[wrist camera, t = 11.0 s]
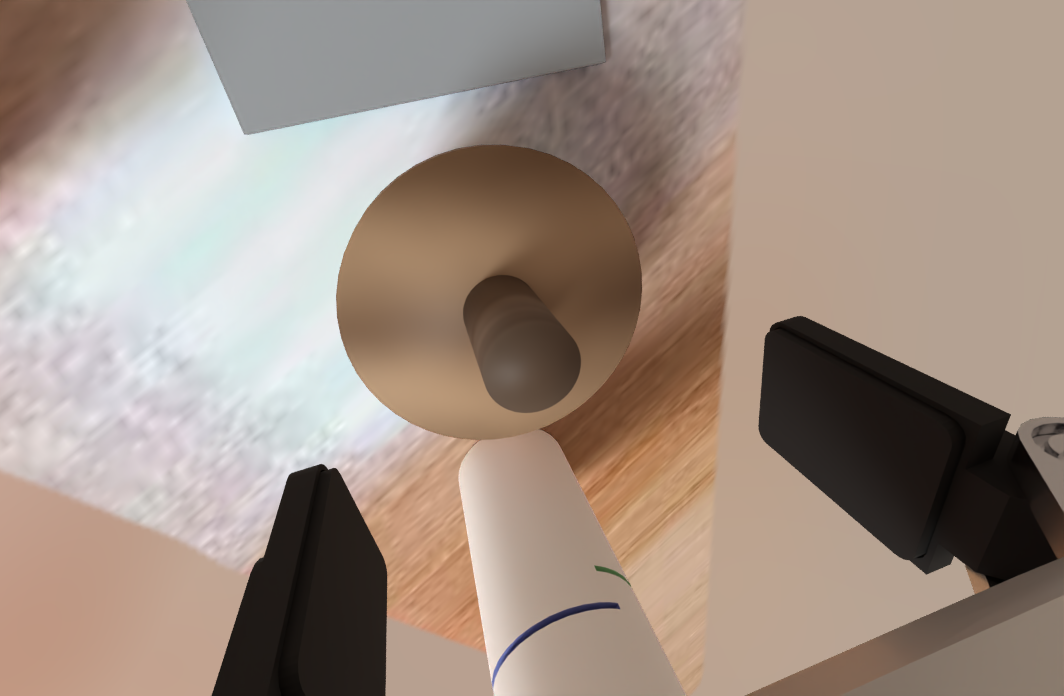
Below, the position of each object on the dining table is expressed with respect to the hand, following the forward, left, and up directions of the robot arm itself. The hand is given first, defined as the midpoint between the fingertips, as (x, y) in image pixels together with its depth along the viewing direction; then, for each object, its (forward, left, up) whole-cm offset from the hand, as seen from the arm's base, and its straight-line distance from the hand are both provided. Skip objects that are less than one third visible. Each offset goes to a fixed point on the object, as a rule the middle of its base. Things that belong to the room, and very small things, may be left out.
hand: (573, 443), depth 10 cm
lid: (0, 0, -10) cm, 10 cm away
